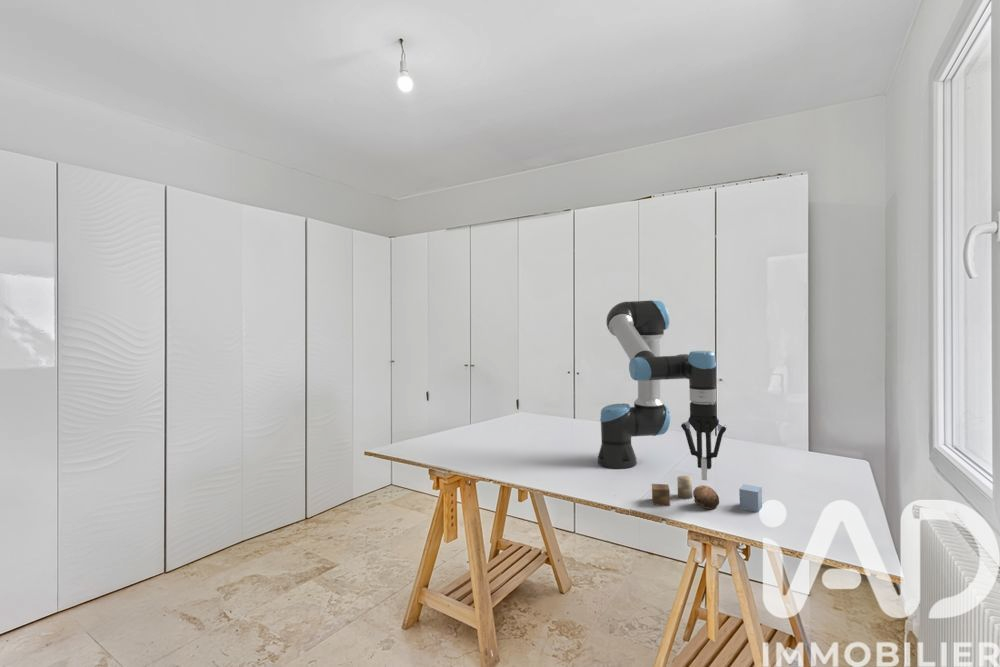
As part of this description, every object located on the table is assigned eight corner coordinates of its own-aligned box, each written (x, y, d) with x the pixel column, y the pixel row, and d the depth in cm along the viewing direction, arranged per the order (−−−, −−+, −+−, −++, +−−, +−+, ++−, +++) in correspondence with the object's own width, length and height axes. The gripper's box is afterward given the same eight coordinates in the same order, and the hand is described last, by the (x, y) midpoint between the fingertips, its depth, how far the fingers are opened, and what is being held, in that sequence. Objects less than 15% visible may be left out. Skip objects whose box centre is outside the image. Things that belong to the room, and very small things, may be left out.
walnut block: (653, 505, 151) (652, 489, 150) (652, 499, 155) (651, 483, 155) (670, 506, 149) (669, 489, 149) (668, 500, 154) (668, 484, 154)
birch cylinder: (676, 497, 156) (676, 479, 155) (679, 493, 159) (678, 475, 159) (691, 499, 153) (690, 481, 153) (693, 495, 157) (692, 476, 157)
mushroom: (684, 490, 153) (695, 477, 149) (707, 498, 153) (718, 485, 150) (690, 511, 146) (702, 498, 143) (714, 519, 146) (726, 506, 143)
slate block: (739, 508, 145) (739, 488, 145) (744, 503, 149) (743, 484, 149) (758, 512, 142) (757, 492, 142) (762, 506, 146) (761, 487, 145)
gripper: (678, 403, 147) (680, 479, 148) (725, 405, 140) (727, 485, 141) (682, 398, 153) (684, 472, 154) (727, 401, 147) (729, 477, 148)
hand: (704, 478), depth 148 cm, fingers closed
